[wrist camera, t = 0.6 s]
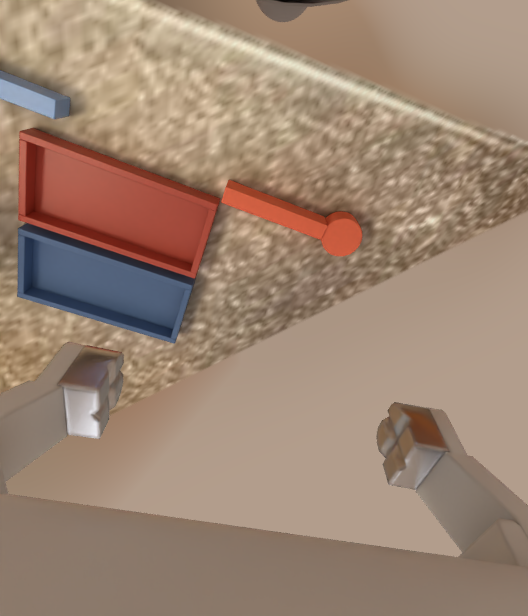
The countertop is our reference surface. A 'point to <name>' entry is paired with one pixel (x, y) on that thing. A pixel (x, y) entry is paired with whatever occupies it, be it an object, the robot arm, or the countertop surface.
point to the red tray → (112, 203)
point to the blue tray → (100, 283)
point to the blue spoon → (33, 96)
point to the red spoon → (298, 218)
